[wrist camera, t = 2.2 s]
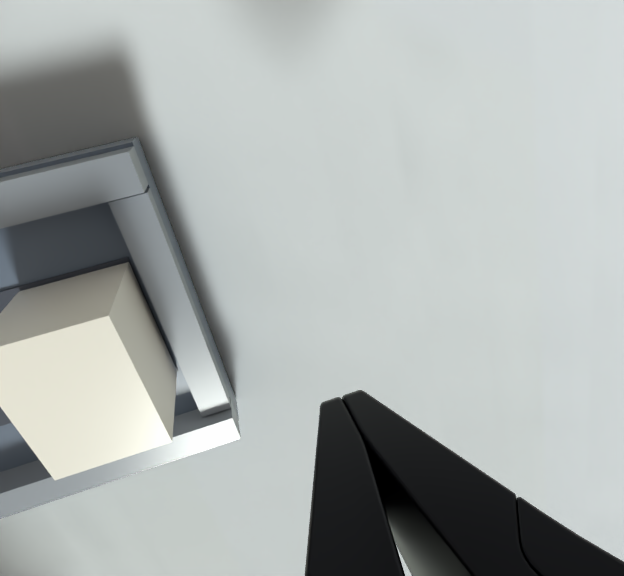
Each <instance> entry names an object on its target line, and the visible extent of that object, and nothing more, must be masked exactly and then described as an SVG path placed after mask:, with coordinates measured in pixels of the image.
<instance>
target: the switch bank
mask: <svg viewBox="0 0 624 576" xmlns="http://www.w3.org/2000/svg"><path fill="white" fill-rule="evenodd" d="M126 262H129V264H130V266H131V268H132V270H133V273H134V275H135V277H136V279H137V282H138V284H139V286H140V288H141V291H142V293H143V295H144V297H145V300H146V302H147V304H148V306H149V309H150V311H151V313H152V315H153V318H154V320H155V322H156V324H157V327H158V329H159V331H160V333H161V336H162V338H163V340H164V342H165V345H166V347H167V349H168V351H169V354H170V356H171V358H172V360H173V363H174V365H175V367H176V369H177V379H176V394H175V409H174V425H173V440H172V442H171V443H168V444H165V445H162V446H159V447H156V448H153V449H150V450H147V451H144V452H141V453H138V454H135V455H132V456H128V457H125V458H122V459H119V460H116V461H113V462H110V463H107V464H104V465H101V466H98V467H95V468H92V469H89V470H86V471H83V472H80V473H77V474H73V475H70V476H67V477H64V478H61V479H58V480H54V479H53V477H52V476H51V475H50V473H49V472H48V471H47V469H46V468H45V467H44V465H43V464H42V463H41V461H40V460H39V459H38V457H37V456H36V454H35V453H34V452H33V450H32V449H31V448H30V446H29V445H28V444H27V442H26V441H25V440H24V438H23V437H22V436H21V434H20V433H19V432H18V430H17V429H16V427H15V426H14V425H13V423H12V422H11V421H10V419H9V418H8V417H7V415H6V414H5V413H4V411H3V410H2V409H1V407H0V519H1V518H4V517H7V516H10V515H13V514H16V513H19V512H22V511H25V510H28V509H31V508H34V507H37V506H40V505H43V504H46V503H49V502H52V501H55V500H58V499H61V498H64V497H67V496H70V495H73V494H76V493H79V492H82V491H85V490H88V489H91V488H94V487H97V486H100V485H103V484H106V483H109V482H112V481H115V480H118V479H121V478H124V477H127V476H130V475H133V474H136V473H139V472H142V471H145V470H148V469H151V468H154V467H157V466H160V465H163V464H166V463H169V462H172V461H175V460H178V459H181V458H184V457H187V456H190V455H193V454H196V453H199V452H202V451H205V450H208V449H211V448H214V447H217V446H220V445H223V444H226V443H229V442H232V441H235V440H238V439H241V438H240V430H239V422H238V421H239V418H238V410H237V402H236V397H235V395H234V392H233V389H232V387H231V384H230V381H229V379H228V376H227V373H226V371H225V368H224V365H223V363H222V360H221V357H220V355H219V352H218V349H217V347H216V344H215V341H214V339H213V336H212V333H211V331H210V328H209V325H208V323H207V320H206V317H205V315H204V312H203V309H202V307H201V304H200V301H199V299H198V296H197V293H196V291H195V288H194V285H193V283H192V280H191V277H190V275H189V272H188V269H187V267H186V264H185V261H184V259H183V256H182V253H181V250H180V248H179V245H178V242H177V240H176V237H175V234H174V232H173V229H172V226H171V224H170V221H169V218H168V216H167V213H166V210H165V208H164V205H163V202H162V200H161V197H160V194H159V192H158V189H157V186H156V184H155V181H154V178H153V176H152V173H151V170H150V168H149V165H148V162H147V160H146V157H145V154H144V152H143V149H142V146H141V144H140V141H139V138H138V137H135V138H131V139H126V140H122V141H118V142H113V143H109V144H105V145H101V146H96V147H92V148H88V149H84V150H79V151H75V152H71V153H67V154H62V155H58V156H54V157H49V158H45V159H41V160H37V161H32V162H28V163H24V164H20V165H15V166H11V167H7V168H3V169H0V313H1V312H2V311H3V309H4V308H5V307H6V306H7V305H8V303H9V302H10V301H11V300H12V299H13V298H14V296H15V295H16V294H17V293H18V292H19V291H23V290H26V289H30V288H34V287H38V286H41V285H45V284H49V283H52V282H56V281H60V280H63V279H67V278H71V277H74V276H78V275H82V274H86V273H89V272H93V271H97V270H100V269H104V268H108V267H111V266H115V265H119V264H123V263H126Z"/></svg>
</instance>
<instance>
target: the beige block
mask: <svg viewBox="0 0 624 576" xmlns="http://www.w3.org/2000/svg"><path fill="white" fill-rule="evenodd" d="M176 379H177V369H176V367H175V365H174V363H173V360H172V358H171V356H170V354H169V351H168V349H167V347H166V345H165V342H164V340H163V338H162V336H161V333H160V331H159V329H158V327H157V324H156V322H155V320H154V318H153V315H152V313H151V311H150V309H149V306H148V304H147V302H146V300H145V297H144V295H143V293H142V291H141V288H140V286H139V284H138V282H137V279H136V277H135V275H134V273H133V270H132V268H131V266H130V264H129V262H126V263H123V264H119V265H115V266H111V267H108V268H104V269H100V270H97V271H93V272H89V273H86V274H82V275H78V276H74V277H71V278H67V279H63V280H60V281H56V282H52V283H49V284H45V285H41V286H38V287H34V288H30V289H26V290H23V291H19V292H18V293H17V294H16V295H15V296H14V298H13V299H12V300H11V301H10V302H9V303H8V305H7V306H6V307H5V308H4V309H3V311H2V312H1V313H0V407H1V409H2V410H3V411H4V413H5V414H6V415H7V417H8V418H9V419H10V421H11V422H12V423H13V425H14V426H15V427H16V429H17V430H18V432H19V433H20V434H21V436H22V437H23V438H24V440H25V441H26V442H27V444H28V445H29V446H30V448H31V449H32V450H33V452H34V453H35V454H36V456H37V457H38V459H39V460H40V461H41V463H42V464H43V465H44V467H45V468H46V469H47V471H48V472H49V473H50V475H51V476H52V477H53V479H54V480H58V479H61V478H64V477H67V476H70V475H73V474H77V473H80V472H83V471H86V470H89V469H92V468H95V467H98V466H101V465H104V464H107V463H110V462H113V461H116V460H119V459H122V458H125V457H128V456H132V455H135V454H138V453H141V452H144V451H147V450H150V449H153V448H156V447H159V446H162V445H165V444H168V443H171V442H172V440H173V425H174V409H175V394H176Z"/></svg>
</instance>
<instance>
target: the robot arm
mask: <svg viewBox="0 0 624 576" xmlns="http://www.w3.org/2000/svg"><path fill="white" fill-rule="evenodd" d="M395 543H396V544H395ZM396 545H397V547H398V549H399V551H400V553H401V555H402V557H403V559H404V561H405V563H406V565H407V567H408V569H409V571H410V572H411V574H412V576H624V562H623V561H622V560H620V559H618V558H616V557H615V556H613V555H611V554H610V553H608V552H606V551H604V550H603V549H601V548H599V547H598V546H596V545H594V544H592V543H591V542H589V541H587V540H586V539H584V538H582V537H581V536H579V535H577V534H576V533H574V532H573V531H571V530H569V529H568V528H566V527H565V526H563V525H562V524H560V523H559V522H557V521H556V520H554V519H552V518H551V517H549V516H548V515H546V514H545V513H543V512H542V511H540V510H539V509H537V508H536V507H534V506H533V505H531V504H530V503H528V502H527V501H525V500H524V499H523V498H521V497H518V498H517V499H516V495H515V493H513V492H512V491H510V490H509V489H507V488H506V487H504V486H503V485H502V484H500V483H499V482H497V481H496V480H494V479H493V478H491V477H490V476H488V475H487V474H485V473H484V472H482V471H481V470H479V469H478V468H476V467H475V466H473V465H472V464H470V463H469V462H468V461H466V460H465V459H463V458H462V457H460V456H459V455H457V454H456V453H454V452H453V451H451V450H450V449H448V448H447V447H445V446H444V445H442V444H441V443H439V442H438V441H437V440H435V439H434V438H432V437H431V436H429V435H428V434H426V433H425V432H423V431H422V430H420V429H419V428H417V427H416V426H414V425H413V424H411V423H410V422H408V421H407V420H405V419H404V418H403V417H401V416H400V415H398V414H397V413H395V412H394V411H392V410H391V409H389V408H388V407H386V406H385V405H383V404H382V403H380V402H379V401H377V400H376V399H374V398H373V397H372V396H370V395H369V394H367V393H366V392H364V391H362V390H358V391H355V392H352V393H349V394H346V395H344V396H343V397H342V399H341V398H340V397H337V398H334V399H331V400H328V401H325V402H322V403H321V406H320V415H319V426H318V437H317V448H316V459H315V469H314V480H313V491H312V502H311V513H310V524H309V535H308V546H307V557H306V568H305V576H405V574H404V571H403V567H402V564H401V561H400V557H399V554H398V551H397V547H396Z"/></svg>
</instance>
